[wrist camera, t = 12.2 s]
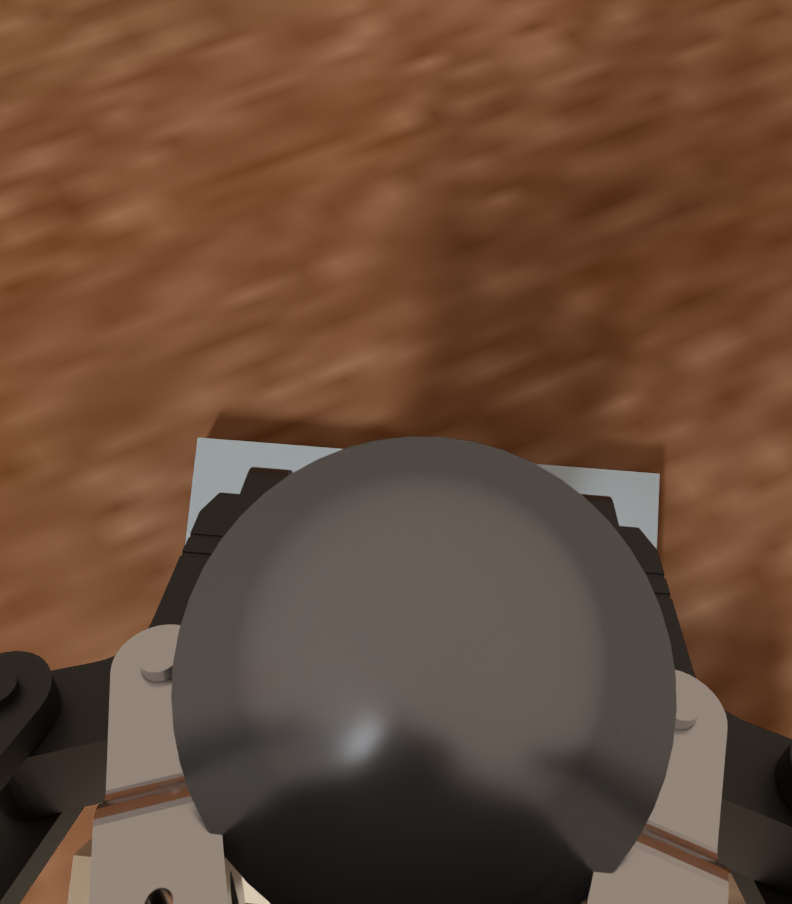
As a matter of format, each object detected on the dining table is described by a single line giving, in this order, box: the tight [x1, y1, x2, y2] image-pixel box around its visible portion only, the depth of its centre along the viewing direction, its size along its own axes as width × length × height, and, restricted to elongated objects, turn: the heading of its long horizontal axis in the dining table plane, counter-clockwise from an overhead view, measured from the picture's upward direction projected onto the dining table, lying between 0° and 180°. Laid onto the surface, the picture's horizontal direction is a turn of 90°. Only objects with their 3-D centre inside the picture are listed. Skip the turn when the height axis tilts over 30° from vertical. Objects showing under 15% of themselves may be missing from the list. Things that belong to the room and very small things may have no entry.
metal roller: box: [171, 436, 677, 904], centre depth 12 cm, size 5×5×10 cm
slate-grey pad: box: [185, 438, 660, 549], centre depth 18 cm, size 12×7×1 cm, turn 85°
